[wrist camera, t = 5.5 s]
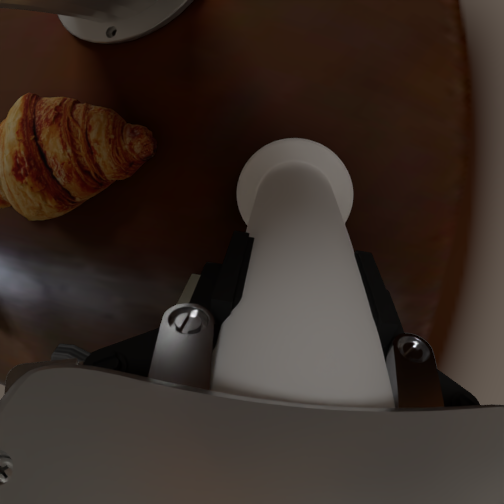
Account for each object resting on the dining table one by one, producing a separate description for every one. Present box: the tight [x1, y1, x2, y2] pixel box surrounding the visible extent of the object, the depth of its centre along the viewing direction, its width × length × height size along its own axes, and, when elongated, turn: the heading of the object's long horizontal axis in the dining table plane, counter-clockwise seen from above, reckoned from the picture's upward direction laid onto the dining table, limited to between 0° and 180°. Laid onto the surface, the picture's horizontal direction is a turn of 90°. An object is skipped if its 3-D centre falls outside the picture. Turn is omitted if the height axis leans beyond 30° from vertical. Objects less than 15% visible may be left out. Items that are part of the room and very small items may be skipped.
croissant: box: [0, 93, 158, 221], centre depth 20 cm, size 21×10×8 cm, turn 92°
